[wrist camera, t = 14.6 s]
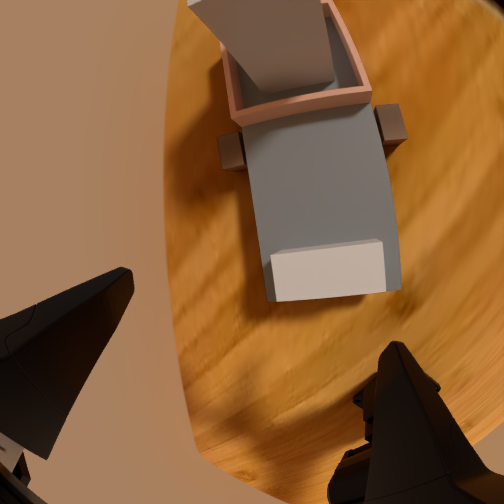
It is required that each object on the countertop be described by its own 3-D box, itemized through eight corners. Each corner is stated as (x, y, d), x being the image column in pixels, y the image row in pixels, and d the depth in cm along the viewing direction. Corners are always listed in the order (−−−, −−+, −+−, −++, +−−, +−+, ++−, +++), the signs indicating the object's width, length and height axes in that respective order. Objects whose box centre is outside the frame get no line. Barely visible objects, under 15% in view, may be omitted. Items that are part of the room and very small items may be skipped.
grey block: (335, 80, 14) (312, -31, 5) (263, 95, 16) (187, 6, 7) (316, 30, 14) (282, -70, 5) (252, 45, 16) (186, -40, 7)
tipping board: (398, 285, 16) (410, 300, 12) (271, 298, 19) (254, 314, 15) (334, 18, 14) (328, -10, 11) (231, 41, 17) (212, 18, 14)
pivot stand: (399, 144, 16) (407, 138, 14) (235, 171, 20) (222, 169, 18) (392, 113, 16) (398, 103, 13) (229, 142, 20) (216, 137, 18)
